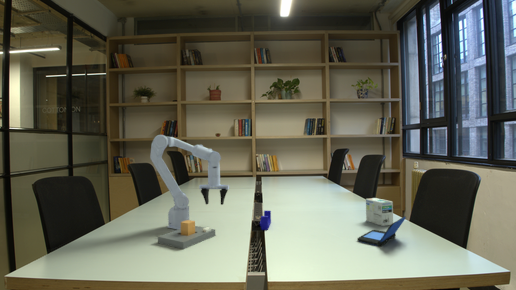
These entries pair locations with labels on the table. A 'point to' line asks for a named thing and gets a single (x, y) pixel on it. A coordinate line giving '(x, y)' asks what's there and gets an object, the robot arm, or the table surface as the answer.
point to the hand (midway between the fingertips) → (214, 204)
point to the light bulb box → (379, 211)
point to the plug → (187, 227)
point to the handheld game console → (381, 234)
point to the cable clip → (265, 220)
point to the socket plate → (186, 237)
